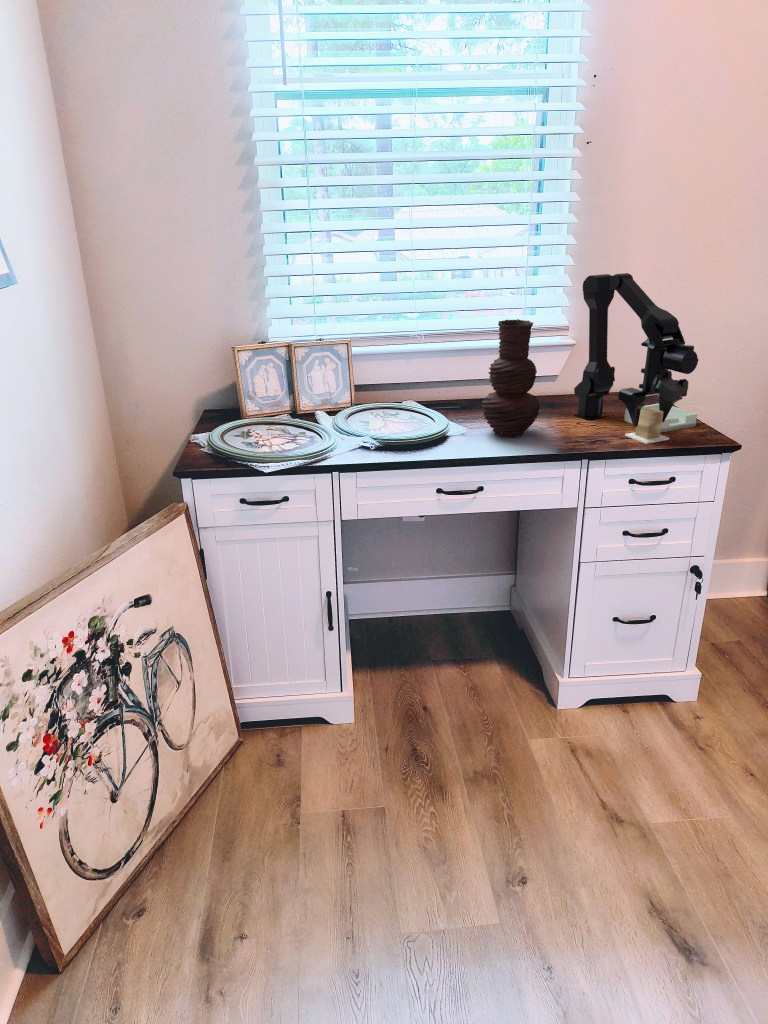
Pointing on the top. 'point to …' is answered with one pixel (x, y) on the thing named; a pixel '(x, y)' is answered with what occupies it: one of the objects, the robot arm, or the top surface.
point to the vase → (512, 382)
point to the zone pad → (632, 435)
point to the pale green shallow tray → (671, 418)
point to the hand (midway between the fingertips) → (648, 424)
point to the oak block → (649, 423)
